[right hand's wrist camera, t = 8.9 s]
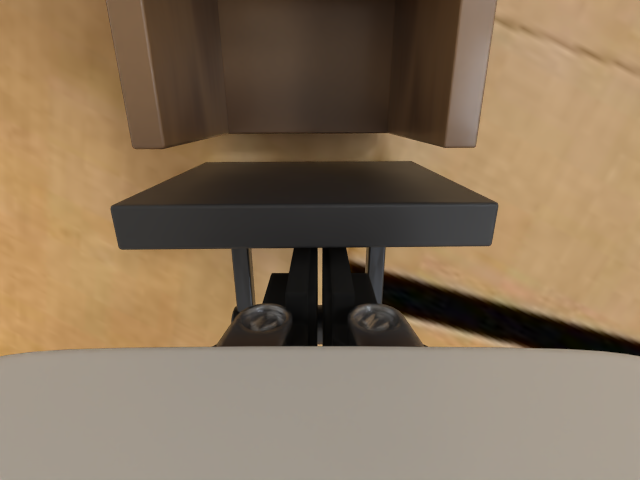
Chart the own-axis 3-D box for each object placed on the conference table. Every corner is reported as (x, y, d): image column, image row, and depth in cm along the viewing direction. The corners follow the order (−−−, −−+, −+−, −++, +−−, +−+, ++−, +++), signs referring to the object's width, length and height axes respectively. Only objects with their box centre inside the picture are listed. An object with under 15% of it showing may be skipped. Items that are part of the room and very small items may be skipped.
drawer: (402, 282, 18) (465, 400, 11) (218, 284, 18) (151, 406, 11) (444, -199, 12) (667, -730, 4) (162, -203, 12) (-103, -761, 4)
